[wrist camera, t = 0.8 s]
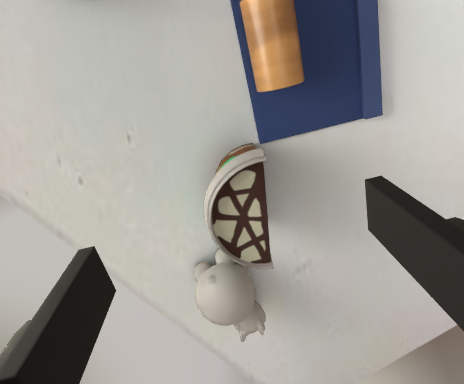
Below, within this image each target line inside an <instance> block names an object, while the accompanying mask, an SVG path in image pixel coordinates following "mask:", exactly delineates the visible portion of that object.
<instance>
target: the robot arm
mask: <svg viewBox="0 0 464 384" xmlns="http://www.w3.org/2000/svg"><path fill="white" fill-rule="evenodd" d="M365 189H366V203H367V218H368V230H369V231H370V232H371V233H372V234H373V235H374V236H375V237H376V238H377V239H378V240H379V241H380V243H381V244H382V245H383V246H384V247H385V248H386V249H387V250H388V251H389V252H390V253H391V254H392V255H393V256H394V257H395V259H396V260H397V261H398V262H399V263H400V264H401V265H402V266H403V267H404V268H405V269H406V270H407V271H408V272H409V273H410V274H411V276H412V277H413V278H414V279H415V280H416V281H417V282H418V283H419V284H420V285H421V286H422V287H423V288H424V289H425V290H426V291H427V293H428V294H429V295H430V296H431V297H432V298H433V299H434V300H435V301H436V302H437V303H438V304H439V305H440V306H441V307H442V309H443V310H444V311H445V312H446V313H447V314H448V315H449V316H450V317H451V318H452V319H453V320H454V321H455V322H456V323H457V324H458V326H459V327H460V328H461V329H462V330H463V331H464V220H462V219H459V218H456V217H454V218H450V219H445V218H443V217H442V216H440V215H439V214H437V213H436V212H434V211H433V210H431V209H430V208H428V207H427V206H425V205H424V204H422V203H421V202H419V201H418V200H416V199H415V198H413V197H412V196H410V195H409V194H407V193H406V192H405V191H403V190H402V189H400V188H399V187H397V186H396V185H394V184H393V183H391V182H390V181H388V180H387V179H385V178H384V177H382V176H378V177H374V178H370V179H366V180H365ZM115 292H116V289H115V287H114V285H113V283H112V281H111V279H110V277H109V275H108V273H107V271H106V269H105V267H104V265H103V263H102V261H101V259H100V257H99V255H98V253H97V251H96V249H95V247H94V246H93V247H89V248H85V249H81V250H78V252H77V253H76V255H75V256H74V258H73V259H72V261H71V263H70V264H69V265H68V267H67V268H66V270H65V271H64V273H63V274H62V276H61V277H60V279H59V280H58V282H57V283H56V285H55V286H54V288H53V289H52V291H51V292H50V294H49V295H48V296H47V298H46V299H45V301H44V303H43V304H42V305H41V307H40V309H39V310H38V311H37V313H36V314H35V316H34V317H33V319H32V320H29V321H27V322H26V324H24V325H23V326H22V327H21V328H20V329H19V330H18V331H17V332H16V333H15V334H14V336H13V337H12V339H11V340H10V342H9V343H8V344H7V347H6V348H5V349H4V350H3V352H2V353H1V354H0V384H79V383H80V380H81V378H82V375H83V373H84V370H85V368H86V365H87V363H88V360H89V358H90V355H91V353H92V350H93V348H94V345H95V343H96V340H97V338H98V335H99V332H100V330H101V327H102V325H103V322H104V320H105V317H106V315H107V312H108V310H109V307H110V305H111V302H112V300H113V297H114V294H115Z"/></svg>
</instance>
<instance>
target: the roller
mask: <svg viewBox="0 0 464 384" xmlns="http://www.w3.org/2000/svg"><path fill="white" fill-rule="evenodd" d="M240 7H241V13H242V18H243V23H244V28H245V33H246V38H247V43H248V48H249V53H250V58H251V63H252V68H253V74H254V79H255V84H256V89H257V92H266V91H272V90H277V89H282V88H286V87H290V86H293V85H296V84H299V83H302V82H303V81H304V80H305V79H304V71H303V64H302V57H301V49H300V42H299V35H298V27H297V20H296V13H295V5H294V0H242V1H241V2H240Z"/></svg>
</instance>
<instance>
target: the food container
mask: <svg viewBox="0 0 464 384" xmlns="http://www.w3.org/2000/svg"><path fill="white" fill-rule="evenodd" d="M263 161H266V159H265V155H264V152H263V150H262V148H259V149H257V148H256V147H255V146H254V145H253V144H252V143H251V144H246V145H242V146H240V147H238V148H236V149H234V150H232V151H231V152H230V153H229V154H228V155H227V156H226V157H225V158H224V159H223V160H222V161H221V163H220V165H219V167H218V168H217V170H216V175H215V176H214V178H213V179H212V181H211V183H210V185H209V187H208V189H207V192H206V196H205V199H204V218H205V222H206V225H207V228H208V230H209V232H210V234H211V236H212V239H213V240H214V242H215V243H216V245H217V246H218V247H219V248H220V249H221V251H222V252H223V253H225V254H226V255H227V256H228V257H230V258H231V259H232V260H234V261H236V262H238V263H240V264H242V265H245V266H248V267H252V268H258V269H273V268H274V267H273V263H272V260H271V254H270V246H269V232H268V215H267V204H266V192H265V179H264V167H263Z"/></svg>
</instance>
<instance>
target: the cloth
mask: <svg viewBox="0 0 464 384" xmlns="http://www.w3.org/2000/svg"><path fill="white" fill-rule="evenodd" d="M241 1H242V0H231V5H232V10H233V15H234V20H235V24H236V29H237V34H238V39H239V44H240V49H241V54H242V58H243V63H244V68H245V73H246V78H247V83H248V88H249V92H250V97H251V102H252V107H253V112H254V117H255V121H256V126H257V131H258V136H259V141H260V144H262V143H266V142H270V141H274V140H278V139H282V138H286V137H290V136H294V135H298V134H302V133H306V132H310V131H314V130H318V129H322V128H326V127H330V126H334V125H338V124H342V123H346V122H350V121H354V120H358V119H362V118H364V119H369V118H372V117H376V116H380V115H383V113H382V90H381V68H380V45H379V23H378V0H294V5H295V13H296V20H297V27H298V35H299V42H300V49H301V57H302V64H303V71H304V79H305V80H304V81H303V82H302V83H299V84H296V85H293V86H290V87H286V88H282V89H277V90H272V91H266V92H257V89H256V84H255V79H254V74H253V68H252V63H251V58H250V53H249V48H248V43H247V38H246V33H245V28H244V23H243V18H242V13H241V7H240V2H241Z"/></svg>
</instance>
